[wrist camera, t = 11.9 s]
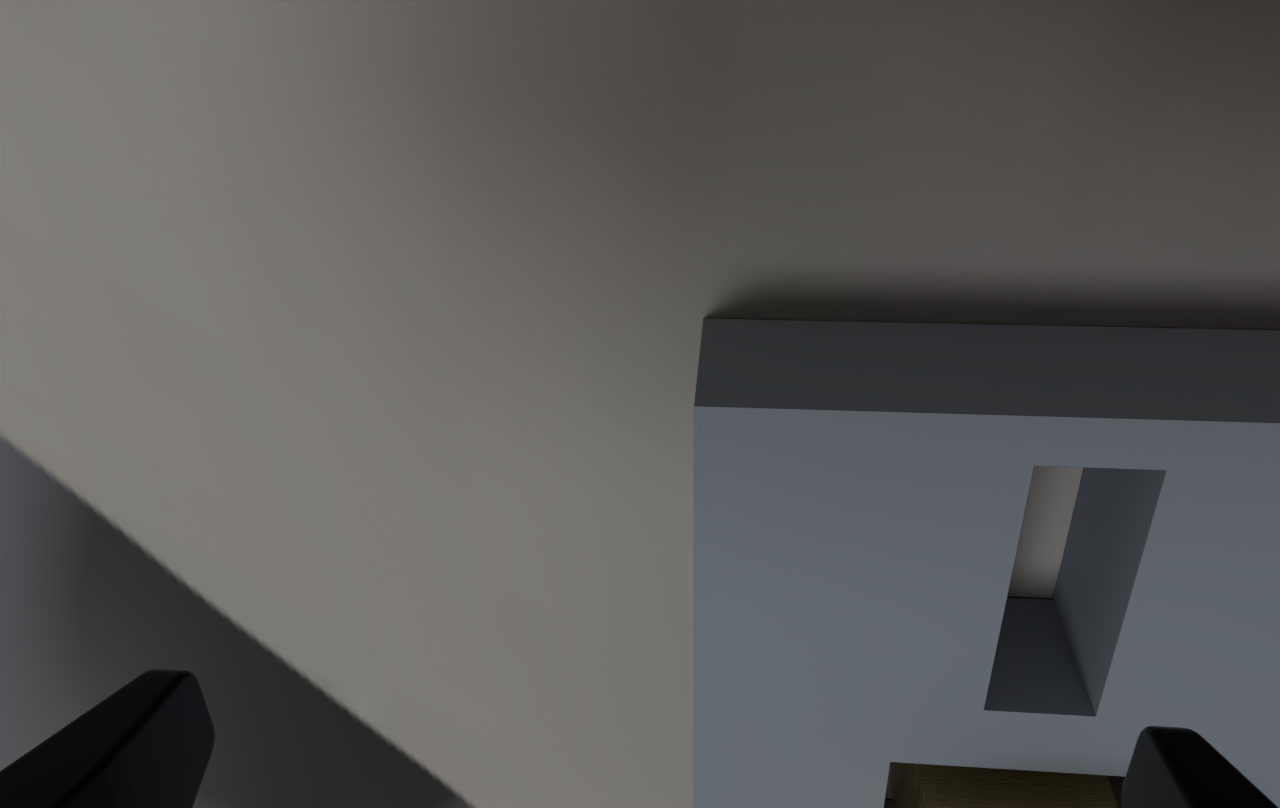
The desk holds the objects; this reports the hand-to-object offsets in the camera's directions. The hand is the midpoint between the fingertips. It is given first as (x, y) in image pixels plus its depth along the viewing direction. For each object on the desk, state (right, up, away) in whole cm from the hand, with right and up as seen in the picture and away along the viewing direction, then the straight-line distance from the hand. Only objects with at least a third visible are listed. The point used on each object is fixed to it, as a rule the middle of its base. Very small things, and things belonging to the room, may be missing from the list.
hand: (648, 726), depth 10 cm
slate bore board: (+8, -2, +14) cm, 17 cm away
